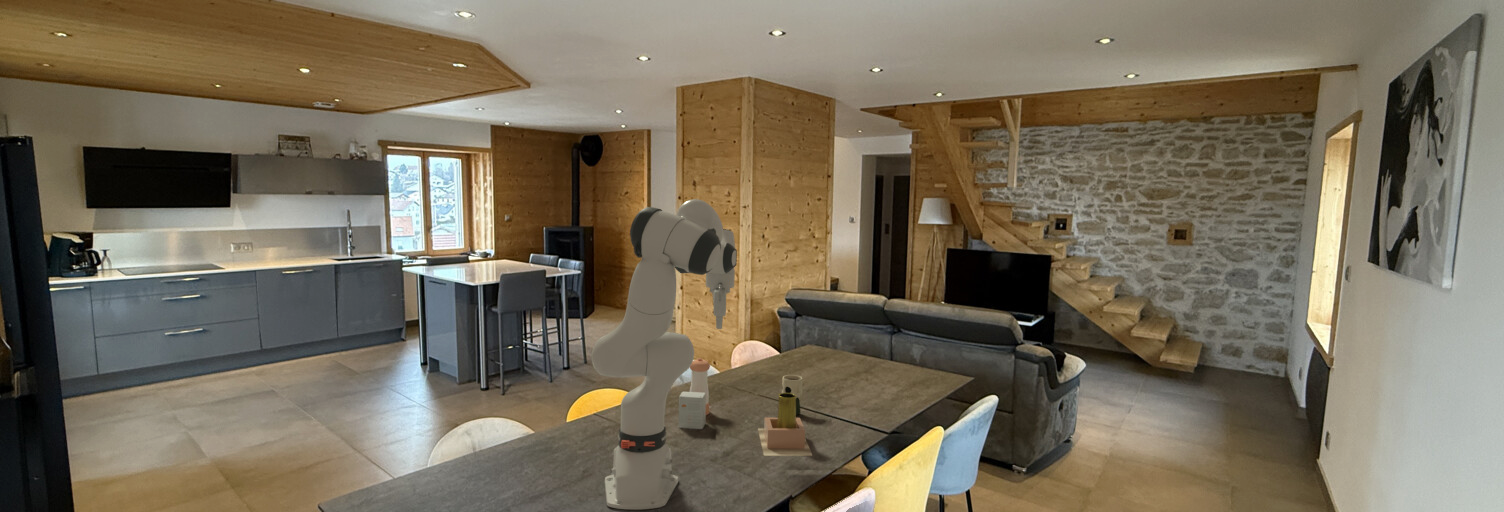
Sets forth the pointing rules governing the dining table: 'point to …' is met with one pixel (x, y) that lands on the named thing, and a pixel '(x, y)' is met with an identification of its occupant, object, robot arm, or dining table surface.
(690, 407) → the small box
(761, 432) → the board
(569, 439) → the dining table surface
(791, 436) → the pink open box
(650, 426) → the robot arm
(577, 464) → the dining table surface
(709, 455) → the dining table surface
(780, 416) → the vase
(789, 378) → the character mug
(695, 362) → the pepper shaker
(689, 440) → the dining table surface
